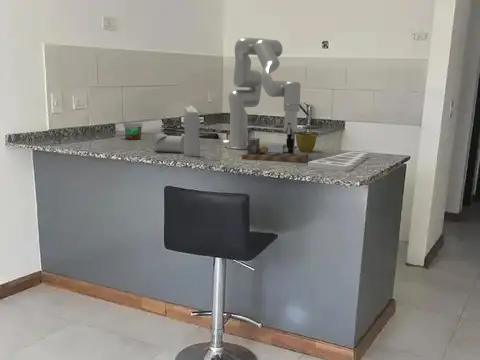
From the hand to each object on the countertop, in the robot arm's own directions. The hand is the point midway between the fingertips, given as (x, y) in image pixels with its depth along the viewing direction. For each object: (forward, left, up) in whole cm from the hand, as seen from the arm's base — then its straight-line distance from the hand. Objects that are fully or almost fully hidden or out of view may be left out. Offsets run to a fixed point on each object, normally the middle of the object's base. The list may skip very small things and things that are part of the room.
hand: (290, 146), depth 258 cm
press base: (-7, 0, -6) cm, 10 cm away
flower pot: (+3, +31, -6) cm, 32 cm away
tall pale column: (-48, -5, -6) cm, 49 cm away
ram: (-4, 0, -3) cm, 5 cm away
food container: (-105, +44, -6) cm, 114 cm away
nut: (-14, 0, -4) cm, 14 cm away
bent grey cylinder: (-66, +7, -7) cm, 67 cm away
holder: (+28, 0, -7) cm, 29 cm away
